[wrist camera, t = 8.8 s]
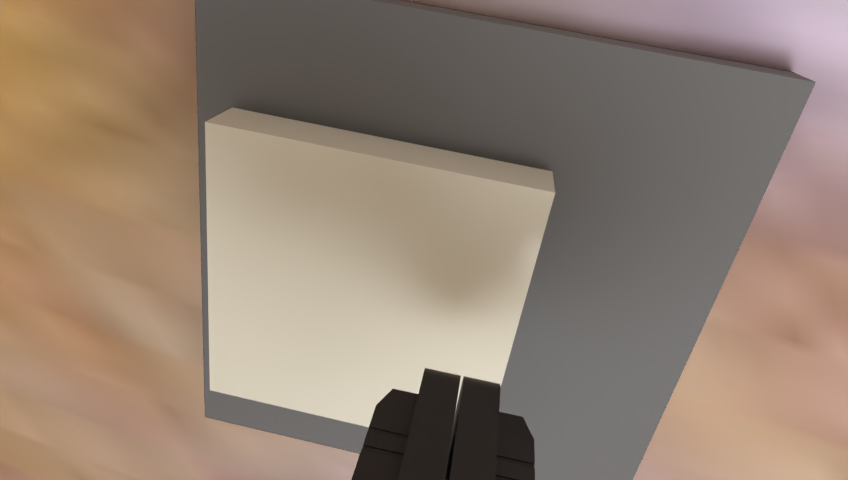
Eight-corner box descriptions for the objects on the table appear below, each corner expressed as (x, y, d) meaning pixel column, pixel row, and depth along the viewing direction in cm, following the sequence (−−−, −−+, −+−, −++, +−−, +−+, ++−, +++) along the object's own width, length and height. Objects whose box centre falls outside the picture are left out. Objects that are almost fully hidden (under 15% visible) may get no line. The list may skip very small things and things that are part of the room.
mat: (221, 393, 21) (204, 417, 20) (218, -34, 14) (194, -33, 13) (611, 484, 20) (616, 514, 19) (792, 71, 14) (815, 82, 12)
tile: (485, 411, 18) (235, 354, 18) (551, 167, 14) (237, 104, 15) (481, 453, 16) (209, 390, 17) (555, 192, 13) (204, 122, 13)
